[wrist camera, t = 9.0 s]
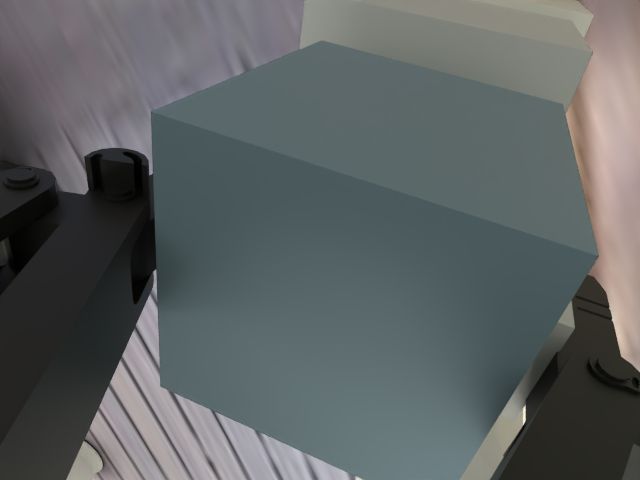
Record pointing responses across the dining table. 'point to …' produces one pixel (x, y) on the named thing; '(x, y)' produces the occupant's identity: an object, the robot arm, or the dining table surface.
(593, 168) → the dining table surface
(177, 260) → the slate block
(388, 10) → the tower top
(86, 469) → the jar
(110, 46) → the dining table surface
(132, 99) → the dining table surface
